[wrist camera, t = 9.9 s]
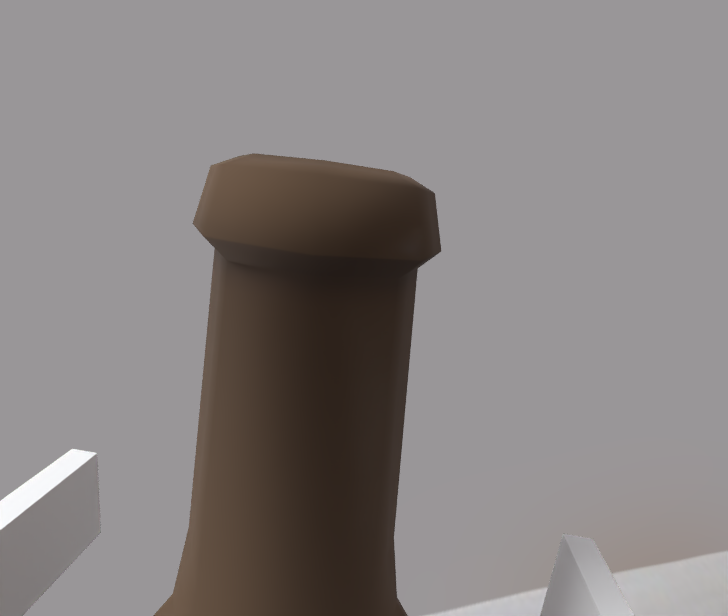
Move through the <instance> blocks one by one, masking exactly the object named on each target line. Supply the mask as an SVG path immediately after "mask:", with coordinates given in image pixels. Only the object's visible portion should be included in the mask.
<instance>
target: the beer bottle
mask: <svg viewBox="0 0 728 616" xmlns="http://www.w3.org/2000/svg"><path fill="white" fill-rule="evenodd" d="M193 224H194V225H195V227H196V228H197V229H198V230H199V232H200V233H201V234H202V235H203V236H204V237H205V238H206V239H207V240H208V241H209V243H210V244H211V245H212V246H214V247H215V251H214V262H213V273H212V283H211V294H210V305H209V317H208V327H207V337H206V348H205V359H204V371H203V381H202V391H201V402H200V414H199V425H198V435H197V446H196V456H195V468H194V478H193V490H192V499H191V511H190V522H189V529H188V533H187V537H186V541H185V545H184V550H183V554H182V558H181V562H180V566H179V571H178V575H177V580H176V583H175V587H174V592H173V594H172V595H171V597H170V598H169V599H168V600H167V601H166V602H165V603H164V604H163V606H162V607H161V608H160V609H159V610H158V611H157V612H156V613H155V615H154V616H407V614H406V612H405V610H404V609H403V607H402V605H401V604H400V602H399V600H398V598H397V592H396V574H395V573H396V572H395V553H394V529H395V528H394V527H395V517H396V507H397V495H398V484H399V473H400V461H401V449H402V438H403V427H404V426H403V425H404V415H405V404H406V393H407V382H408V370H409V359H410V347H411V336H412V324H413V314H414V303H415V291H416V279H417V269H418V268H419V267H420V266H421V265H423V264H424V263H425V262H427V261H428V260H430V259H431V258H433V257H434V256H435V255H437V254H438V253H439V252H441V245H440V236H439V227H438V218H437V209H436V200H435V193H433V192H432V191H430V190H429V189H427V188H426V187H424V186H423V185H421V184H419V183H418V182H416V181H415V180H413V179H412V178H410V177H407V176H405V175H402V174H399V173H397V172H394V171H388V170H382V169H375V168H368V167H363V166H356V165H350V164H343V163H337V162H331V161H325V160H315V159H305V158H293V157H283V156H273V155H263V154H249V155H242V156H238V157H235V158H232V159H229V160H226V161H223V162H220V163H217V164H214V165H211V167H210V170H209V173H208V176H207V179H206V183H205V186H204V189H203V192H202V195H201V199H200V202H199V205H198V208H197V211H196V215H195V218H194V221H193Z"/></svg>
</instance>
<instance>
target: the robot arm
mask: <svg viewBox="0 0 728 616" xmlns="http://www.w3.org/2000/svg"><path fill="white" fill-rule="evenodd" d="M100 526H101V524H100V504H99V483H98V462H97V453H93V452H87V451H81V450H76V449H71V450H70V451H69V452H67V453H66V454H64V455H63V456H62V457H60V458H59V459H58V460H56V461H55V462H53V463H52V464H51V465H49V466H48V467H47V468H46V469H44V470H42V471H41V472H40V473H38V474H37V475H36V476H34V477H33V478H31V479H30V480H29V481H27V482H26V483H25V484H23V485H22V486H20V487H19V488H17V489H16V490H15V491H13V492H12V493H11V494H9V495H8V496H6V497H5V498H4V499H2V500H1V501H0V616H23V615H24V614H25V613H26V612H27V610H28V609H29V608H30V607H31V606H32V605H33V604H34V603H35V602H36V601H37V600H38V599H39V597H41V596H42V595H43V594H44V592H45V591H46V590H47V589H48V588H49V587H50V586H51V585H52V584H53V583H54V582H55V581H56V579H58V578H59V577H60V575H61V574H62V573H63V572H64V571H65V570H66V569H67V568H68V567H69V566H70V565H71V564H72V563H73V562H74V561H75V560H76V559H77V557H78V556H79V555H80V554H81V553H82V552H83V551H84V550H85V549H86V548H87V547H88V546H89V545H90V543H92V542H93V540H94V539H95V538H96V537H97V536H98V535H99V534H100V533H101V527H100ZM541 616H635V615H634V614H633V612H632V610H631V608H630V606H629V604H628V603H627V601H626V599H625V597H624V595H623V593H622V592H621V590H620V588H619V586H618V584H617V582H616V581H615V579H614V577H613V575H612V573H611V571H610V569H609V568H608V566H607V564H606V562H605V560H604V559H603V557H602V555H601V553H600V551H599V549H598V547H597V546H596V544H595V542H594V540H593V539H592V538H586V537H580V536H574V535H568V534H563V536H562V539H561V543H560V546H559V550H558V554H557V558H556V561H555V564H554V568H553V572H552V575H551V579H550V583H549V586H548V590H547V593H546V597H545V600H544V604H543V608H542V611H541Z"/></svg>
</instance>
